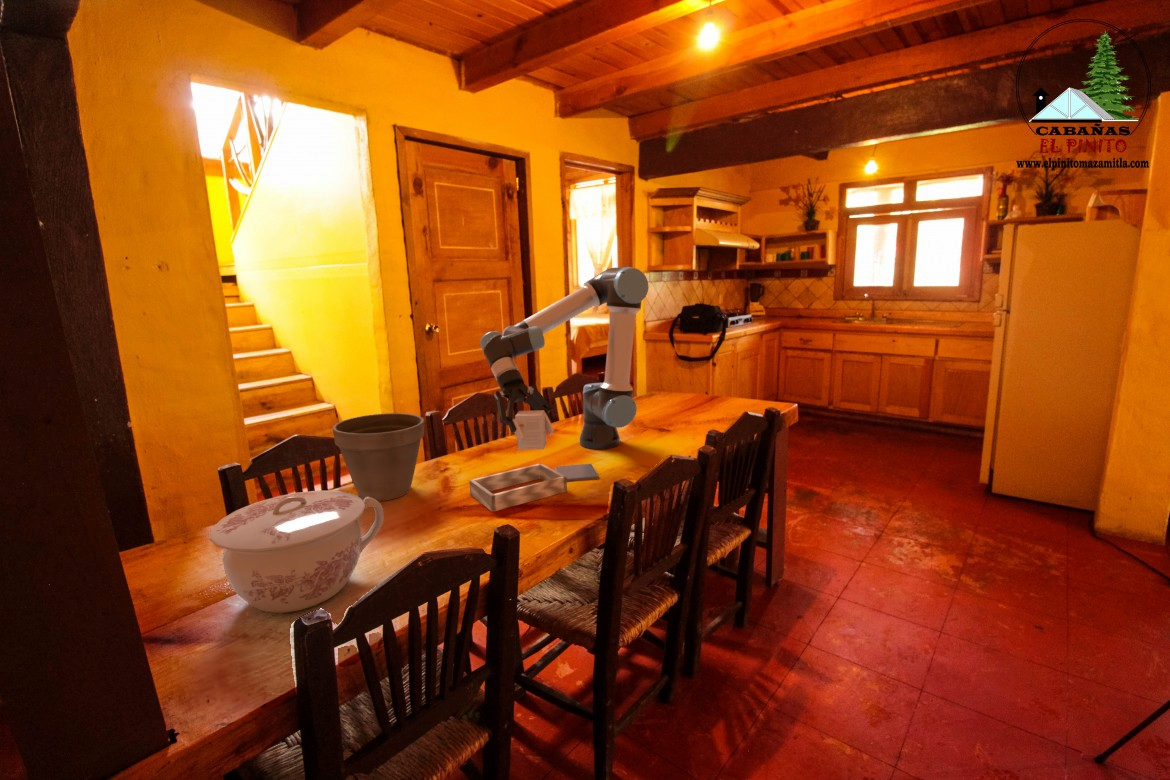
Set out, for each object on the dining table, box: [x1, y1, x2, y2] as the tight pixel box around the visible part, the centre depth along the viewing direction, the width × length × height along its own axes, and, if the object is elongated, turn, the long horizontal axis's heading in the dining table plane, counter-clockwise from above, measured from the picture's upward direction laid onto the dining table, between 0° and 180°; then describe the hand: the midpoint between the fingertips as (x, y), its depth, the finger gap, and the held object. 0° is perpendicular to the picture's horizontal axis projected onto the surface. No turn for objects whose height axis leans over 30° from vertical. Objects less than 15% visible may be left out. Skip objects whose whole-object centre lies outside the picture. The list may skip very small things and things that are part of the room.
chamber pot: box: [208, 490, 385, 614], centre depth 111 cm, size 28×28×21 cm
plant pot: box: [332, 412, 425, 502], centre depth 164 cm, size 25×25×22 cm
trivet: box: [554, 463, 599, 482], centre depth 178 cm, size 12×12×1 cm
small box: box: [514, 410, 548, 451], centre depth 164 cm, size 8×6×10 cm
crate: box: [468, 463, 568, 513], centre depth 163 cm, size 24×15×4 cm, turn 125°
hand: (536, 436), depth 162 cm, fingers closed on small box, 9 cm apart
